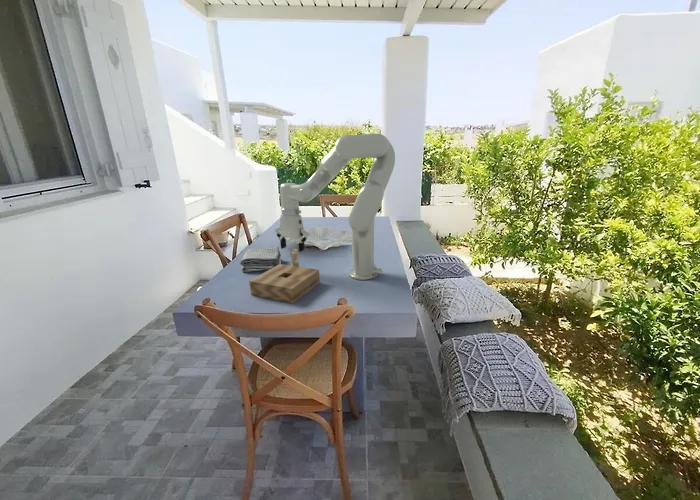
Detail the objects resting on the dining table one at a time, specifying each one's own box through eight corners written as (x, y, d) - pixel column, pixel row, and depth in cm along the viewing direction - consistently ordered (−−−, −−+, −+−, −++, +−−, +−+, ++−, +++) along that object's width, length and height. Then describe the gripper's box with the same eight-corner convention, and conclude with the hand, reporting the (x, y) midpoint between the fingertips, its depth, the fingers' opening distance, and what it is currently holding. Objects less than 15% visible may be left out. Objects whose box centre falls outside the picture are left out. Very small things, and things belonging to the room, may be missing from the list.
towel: (246, 262, 165) (244, 248, 163) (282, 259, 168) (280, 245, 165) (241, 273, 151) (238, 257, 149) (281, 270, 154) (279, 254, 151)
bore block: (319, 282, 138) (318, 269, 136) (293, 303, 120) (291, 288, 119) (281, 276, 146) (280, 263, 144) (251, 294, 129) (249, 280, 127)
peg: (300, 272, 150) (299, 249, 147) (297, 274, 147) (295, 251, 144) (295, 271, 151) (293, 248, 148) (291, 273, 149) (289, 250, 145)
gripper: (312, 212, 140) (313, 249, 146) (279, 208, 147) (281, 244, 152) (302, 215, 134) (304, 254, 139) (268, 211, 141) (271, 249, 146)
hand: (292, 249), depth 146 cm, fingers open, 9 cm apart
